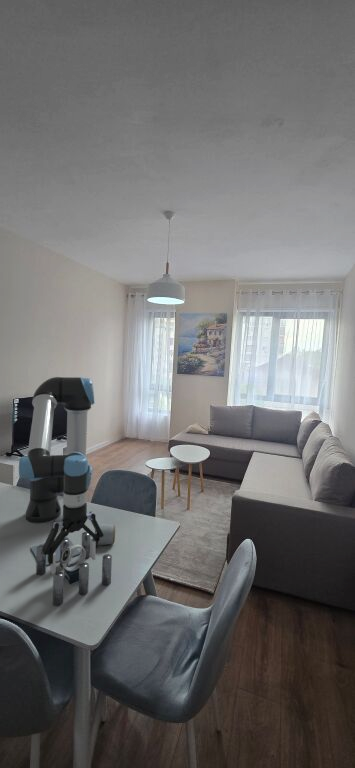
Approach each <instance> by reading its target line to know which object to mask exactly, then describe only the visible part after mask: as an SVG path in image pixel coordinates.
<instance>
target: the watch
mask: <svg viewBox="0 0 355 768" xmlns="http://www.w3.org/2000/svg"><path fill="white" fill-rule="evenodd" d="M75 549H77V550H78V549H81V552H82V554H81V553H80V555H79V558H78V561H77V562H73V563H71V564H70V562H71V561H72V559H73V557H72V556H73V552H74V551H75ZM82 549H83V551H82ZM85 558H86V551H85V549H84V548H83V547H82V544H78V543H77V544H76V543H74V544H73V545H71V546H69V547H68V548H66V549H65V550H64V551H63V553H62V556H61V563H62V565H63V567H62V568H64V570H63V573H64V578H65V579H66V581H67V582H68V584H69V585H72V584H76V583H77V582H78V583H79V565H80V564H81V563H84V562H85ZM68 563H69V564H68ZM67 564H68V566H67Z"/></svg>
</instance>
